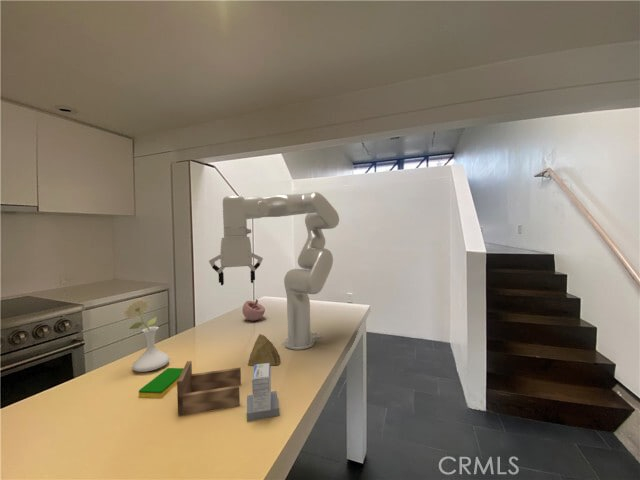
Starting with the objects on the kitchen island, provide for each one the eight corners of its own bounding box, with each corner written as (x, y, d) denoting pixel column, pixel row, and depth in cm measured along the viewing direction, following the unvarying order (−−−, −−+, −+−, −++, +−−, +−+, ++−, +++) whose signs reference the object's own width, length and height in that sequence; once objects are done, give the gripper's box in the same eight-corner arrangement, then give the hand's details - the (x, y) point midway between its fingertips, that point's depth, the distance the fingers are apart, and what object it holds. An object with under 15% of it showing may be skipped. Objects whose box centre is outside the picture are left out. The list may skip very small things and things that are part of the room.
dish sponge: (188, 375, 93) (188, 368, 93) (161, 399, 79) (161, 391, 79) (167, 374, 93) (167, 367, 93) (138, 399, 79) (137, 390, 79)
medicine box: (270, 411, 69) (270, 376, 69) (252, 413, 68) (251, 378, 68) (271, 393, 76) (270, 362, 76) (254, 395, 76) (254, 363, 76)
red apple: (262, 323, 144) (262, 301, 144) (239, 324, 144) (239, 302, 144) (267, 316, 156) (266, 296, 156) (246, 317, 156) (245, 297, 156)
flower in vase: (164, 357, 106) (162, 292, 105) (174, 366, 98) (171, 296, 97) (123, 369, 97) (120, 298, 96) (130, 381, 89) (127, 304, 88)
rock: (288, 354, 101) (269, 344, 107) (279, 341, 96) (260, 331, 102) (269, 381, 94) (250, 369, 100) (259, 368, 90) (240, 357, 95)
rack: (240, 383, 86) (240, 354, 86) (239, 405, 74) (238, 372, 74) (188, 391, 82) (187, 361, 82) (178, 416, 71) (176, 381, 70)
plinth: (276, 397, 78) (276, 390, 78) (279, 415, 70) (279, 407, 70) (247, 402, 76) (247, 395, 76) (247, 421, 68) (246, 413, 68)
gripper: (261, 232, 99) (262, 279, 99) (209, 233, 94) (211, 283, 94) (262, 232, 91) (264, 283, 92) (206, 233, 87) (208, 287, 87)
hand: (237, 283), depth 93 cm, fingers open, 9 cm apart
